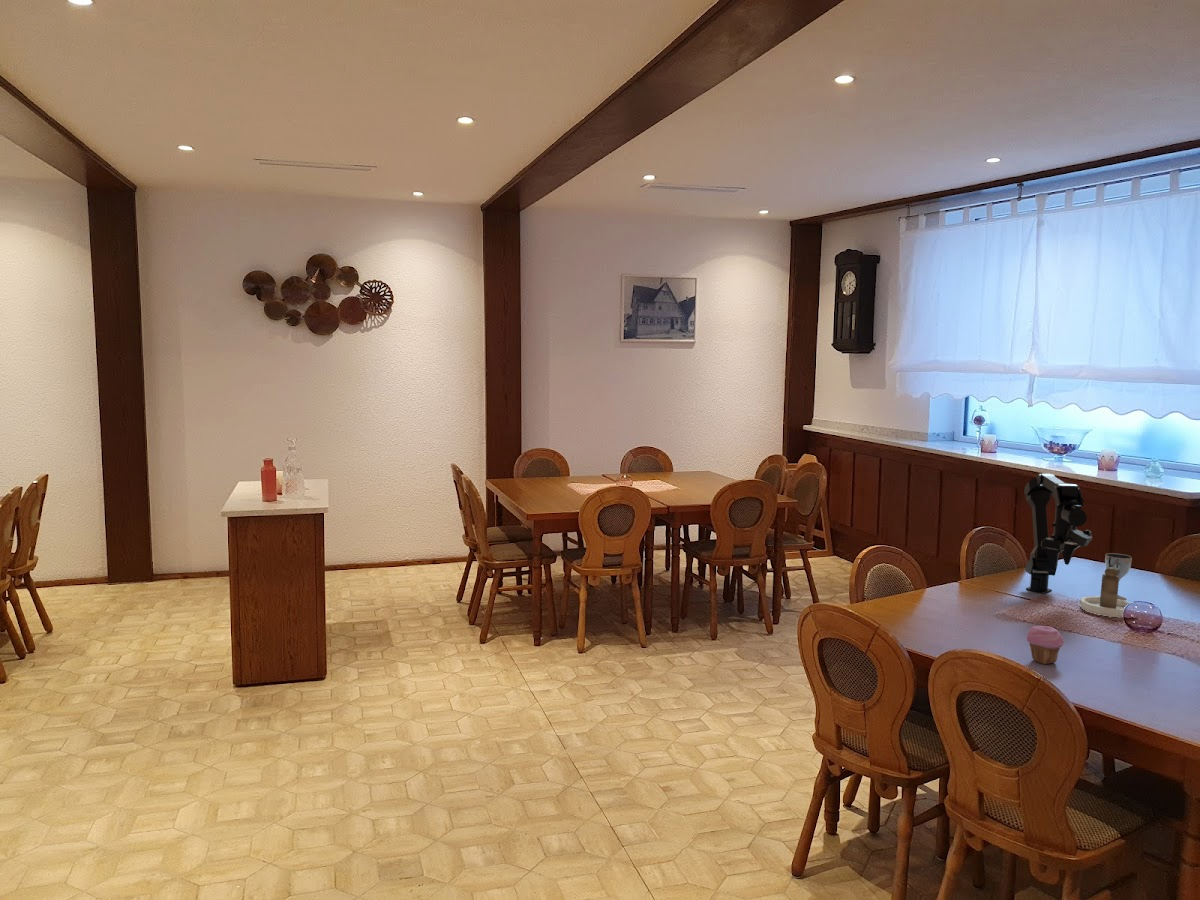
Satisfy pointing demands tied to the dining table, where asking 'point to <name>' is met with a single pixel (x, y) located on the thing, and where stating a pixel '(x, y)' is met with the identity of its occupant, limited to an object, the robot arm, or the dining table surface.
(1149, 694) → the dining table surface
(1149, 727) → the dining table surface
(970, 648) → the dining table surface
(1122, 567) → the wine glass
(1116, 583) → the pepper mill
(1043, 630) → the cupcake
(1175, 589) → the dining table surface
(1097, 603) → the dish
